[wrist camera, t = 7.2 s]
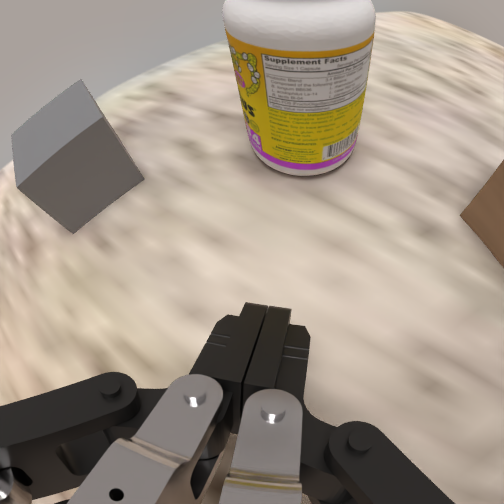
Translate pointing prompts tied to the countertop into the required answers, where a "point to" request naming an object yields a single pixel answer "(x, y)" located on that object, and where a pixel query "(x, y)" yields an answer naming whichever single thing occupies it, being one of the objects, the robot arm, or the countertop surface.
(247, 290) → the countertop surface
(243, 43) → the supplement bottle
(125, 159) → the charcoal block
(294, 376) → the robot arm
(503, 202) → the walnut block
